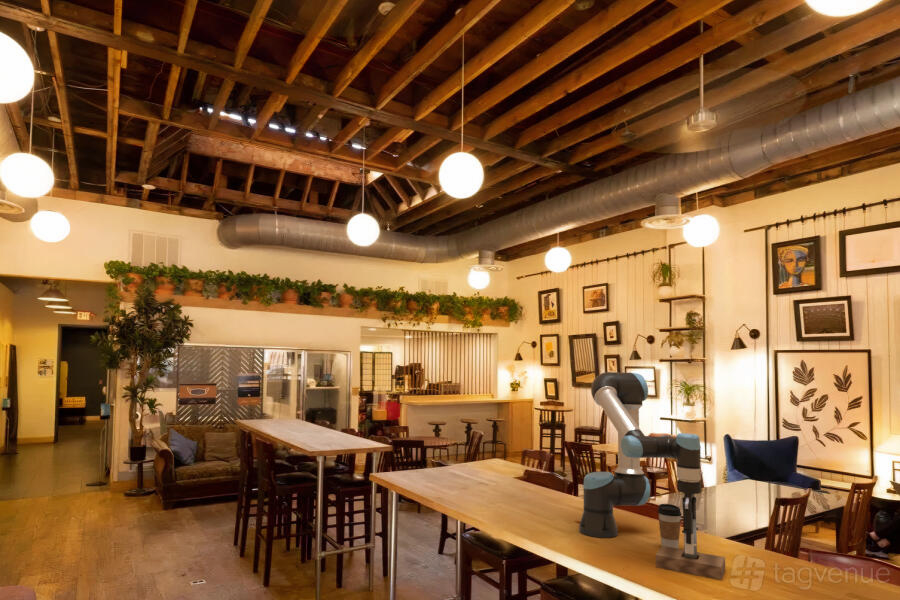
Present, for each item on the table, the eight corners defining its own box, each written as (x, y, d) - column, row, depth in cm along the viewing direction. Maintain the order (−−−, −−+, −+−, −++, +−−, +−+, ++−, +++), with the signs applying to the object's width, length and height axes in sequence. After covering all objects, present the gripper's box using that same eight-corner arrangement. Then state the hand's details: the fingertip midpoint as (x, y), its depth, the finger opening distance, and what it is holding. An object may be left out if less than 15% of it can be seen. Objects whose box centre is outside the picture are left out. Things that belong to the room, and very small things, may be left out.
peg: (683, 557, 188) (682, 519, 190) (684, 553, 192) (684, 517, 193) (696, 559, 186) (695, 521, 188) (697, 556, 190) (697, 519, 191)
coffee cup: (676, 544, 215) (675, 503, 217) (686, 551, 207) (685, 509, 209) (654, 543, 215) (654, 503, 217) (663, 551, 207) (663, 508, 208)
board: (655, 567, 189) (655, 554, 189) (662, 557, 199) (662, 545, 199) (721, 580, 179) (721, 567, 179) (725, 569, 189) (725, 557, 189)
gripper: (697, 485, 183) (698, 560, 180) (704, 477, 198) (705, 547, 195) (672, 482, 187) (674, 556, 184) (681, 475, 201) (682, 543, 199)
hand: (690, 551), depth 189 cm, fingers closed on peg, 4 cm apart
